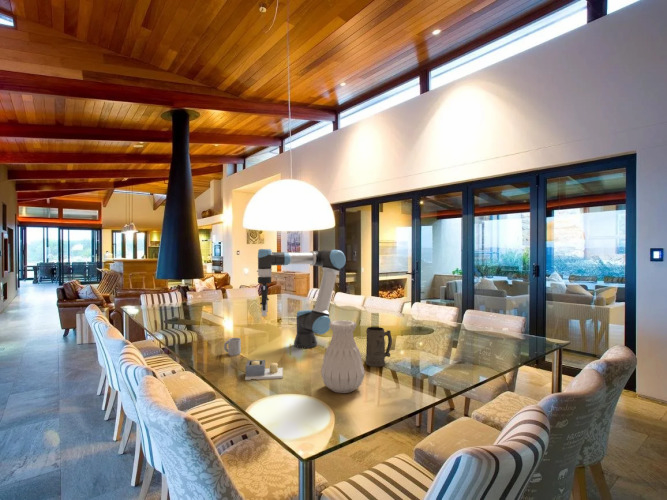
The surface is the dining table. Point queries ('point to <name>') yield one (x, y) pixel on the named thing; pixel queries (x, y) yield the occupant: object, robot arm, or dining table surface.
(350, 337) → the vase
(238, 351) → the cup
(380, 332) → the beer stein
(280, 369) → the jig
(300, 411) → the dining table surface
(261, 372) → the collar
